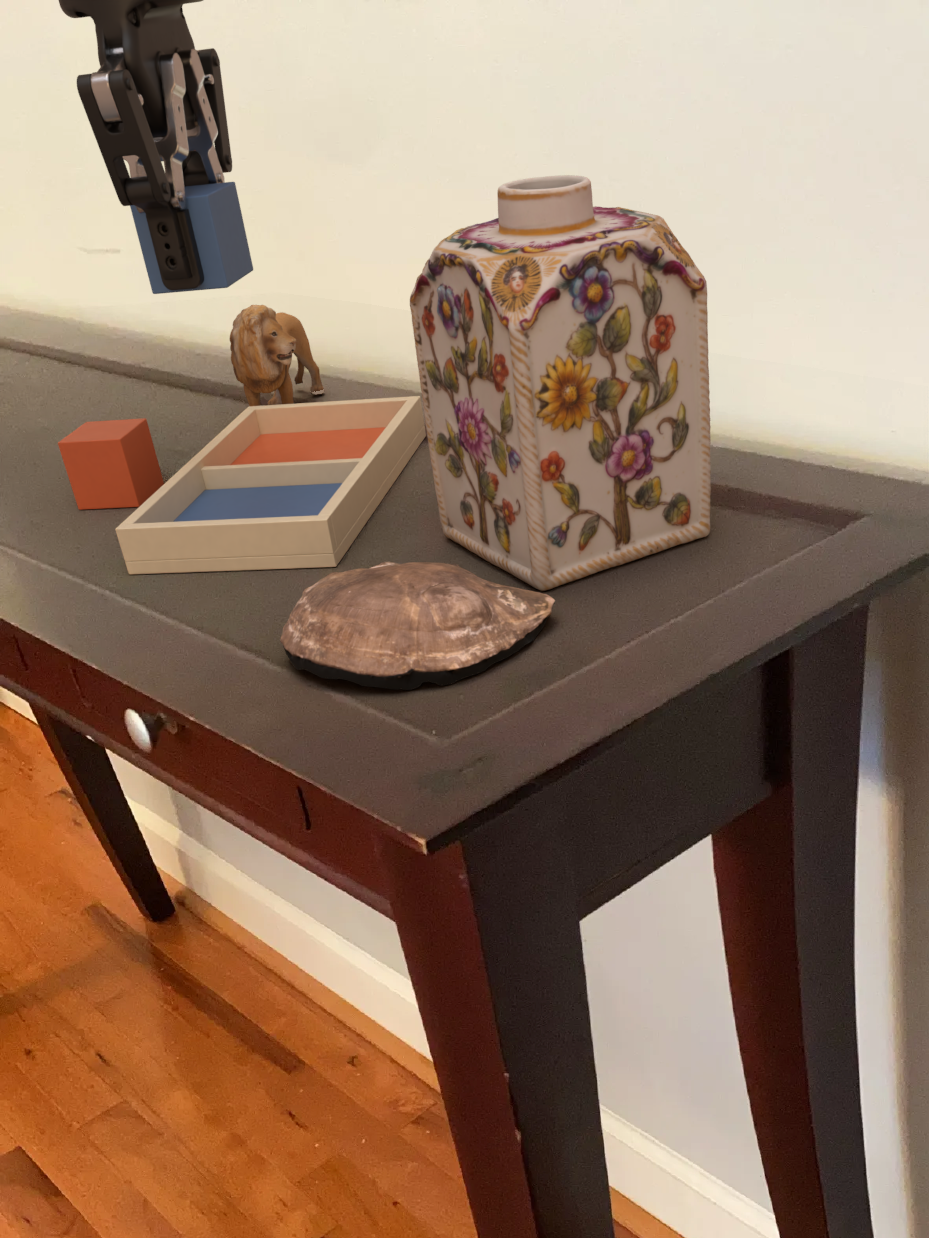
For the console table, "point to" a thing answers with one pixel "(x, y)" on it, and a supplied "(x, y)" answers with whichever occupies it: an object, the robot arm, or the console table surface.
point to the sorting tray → (276, 488)
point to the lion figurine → (270, 354)
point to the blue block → (206, 237)
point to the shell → (409, 624)
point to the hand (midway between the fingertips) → (201, 276)
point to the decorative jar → (565, 384)
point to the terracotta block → (111, 464)
